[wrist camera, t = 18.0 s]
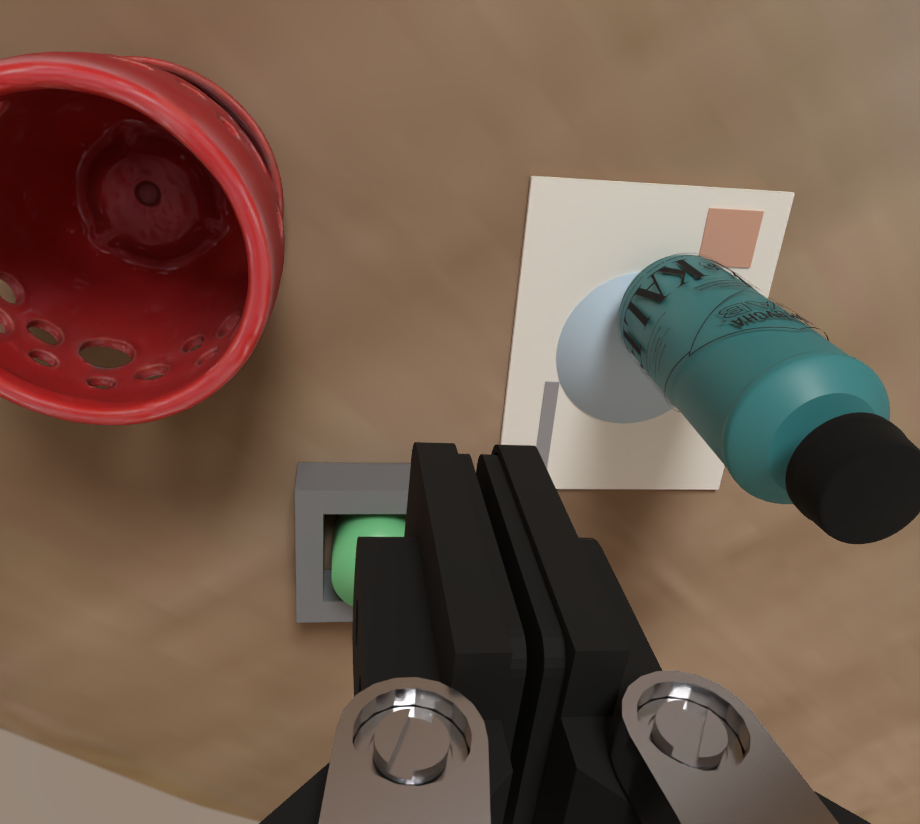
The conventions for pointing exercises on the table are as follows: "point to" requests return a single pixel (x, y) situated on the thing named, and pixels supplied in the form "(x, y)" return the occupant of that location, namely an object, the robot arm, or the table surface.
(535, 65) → the table surface
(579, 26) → the table surface
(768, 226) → the drawing sheet
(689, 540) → the table surface
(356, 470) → the button housing
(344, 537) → the button
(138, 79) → the plant pot
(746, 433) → the beverage bottle
